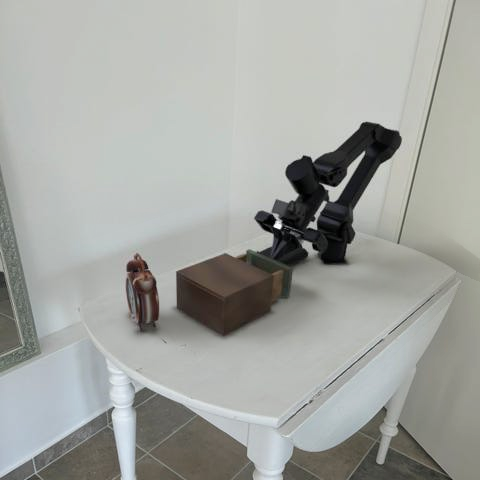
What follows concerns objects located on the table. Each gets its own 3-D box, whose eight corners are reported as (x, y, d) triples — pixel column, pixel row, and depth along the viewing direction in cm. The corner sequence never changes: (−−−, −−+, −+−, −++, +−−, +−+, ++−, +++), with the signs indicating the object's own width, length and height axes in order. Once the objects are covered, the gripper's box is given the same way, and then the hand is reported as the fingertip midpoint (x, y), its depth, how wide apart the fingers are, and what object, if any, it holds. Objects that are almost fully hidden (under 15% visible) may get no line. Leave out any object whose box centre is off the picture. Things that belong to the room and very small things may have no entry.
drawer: (250, 274, 119) (252, 247, 115) (293, 294, 111) (296, 266, 108) (207, 293, 110) (208, 264, 106) (250, 316, 102) (252, 286, 98)
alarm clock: (126, 311, 103) (121, 246, 95) (149, 307, 105) (145, 244, 97) (138, 338, 95) (133, 270, 87) (162, 334, 96) (159, 266, 88)
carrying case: (279, 247, 137) (246, 262, 127) (280, 237, 135) (246, 251, 126) (310, 259, 131) (278, 275, 122) (312, 248, 130) (279, 264, 120)
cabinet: (224, 288, 114) (225, 252, 110) (270, 311, 106) (274, 275, 101) (176, 308, 105) (175, 271, 100) (223, 336, 97) (224, 297, 92)
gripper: (262, 176, 111) (226, 231, 110) (328, 196, 101) (289, 258, 99) (280, 203, 120) (247, 254, 119) (343, 224, 110) (307, 281, 108)
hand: (271, 261), depth 111 cm, fingers closed, pressing on drawer
